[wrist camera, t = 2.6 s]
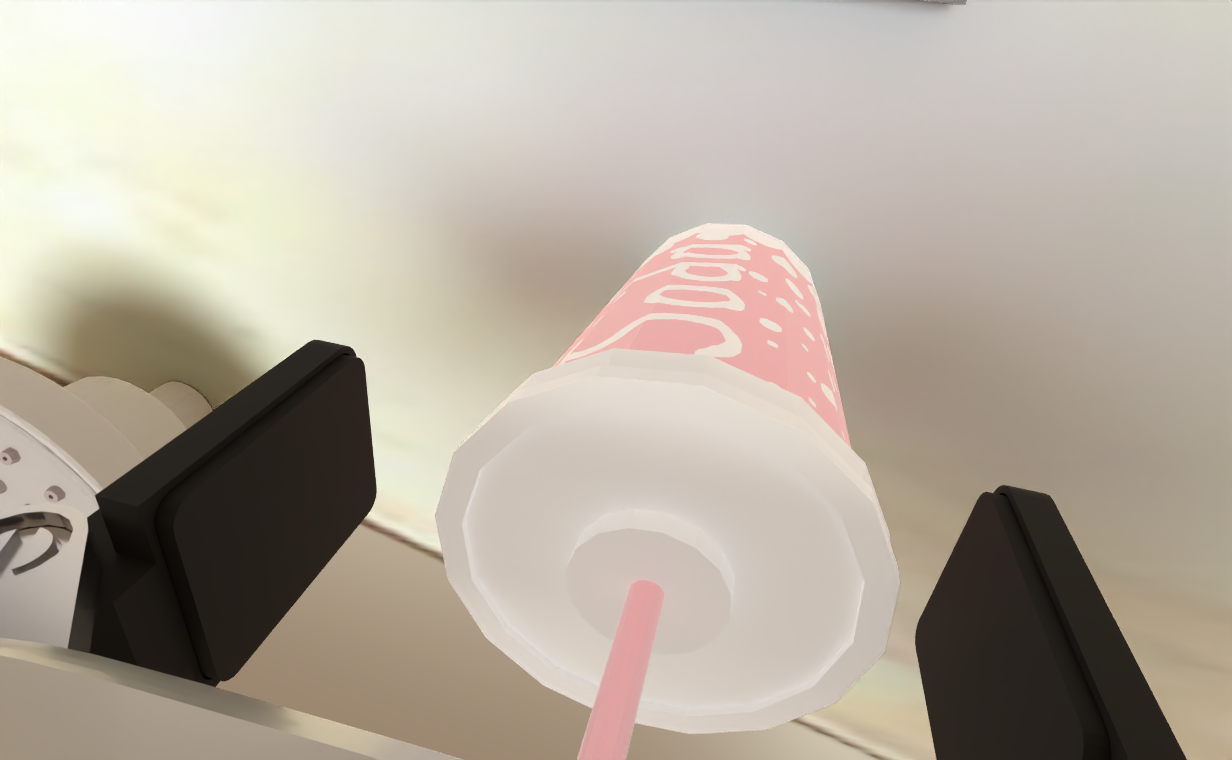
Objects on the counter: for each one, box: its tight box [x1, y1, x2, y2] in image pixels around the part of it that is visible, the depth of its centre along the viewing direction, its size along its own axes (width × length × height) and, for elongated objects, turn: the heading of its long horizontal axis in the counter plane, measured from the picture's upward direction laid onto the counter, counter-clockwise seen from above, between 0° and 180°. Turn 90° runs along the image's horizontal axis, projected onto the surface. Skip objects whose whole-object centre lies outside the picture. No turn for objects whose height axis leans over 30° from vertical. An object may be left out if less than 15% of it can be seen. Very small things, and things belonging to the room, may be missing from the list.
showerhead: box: [0, 357, 213, 518], centre depth 20 cm, size 9×7×10 cm
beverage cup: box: [435, 223, 901, 760], centre depth 11 cm, size 6×6×14 cm
